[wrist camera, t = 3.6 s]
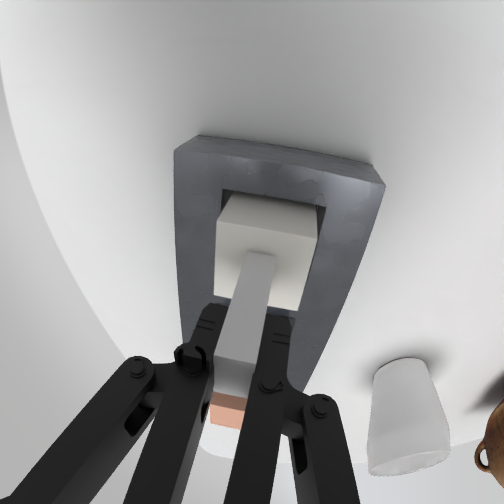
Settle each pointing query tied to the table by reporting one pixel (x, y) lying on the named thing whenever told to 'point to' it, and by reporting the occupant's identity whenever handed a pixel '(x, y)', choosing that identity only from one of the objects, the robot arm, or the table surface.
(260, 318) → the robot arm
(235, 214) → the ivory key
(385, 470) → the cup
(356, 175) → the panel
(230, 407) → the terracotta key
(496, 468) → the vase
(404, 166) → the table surface
